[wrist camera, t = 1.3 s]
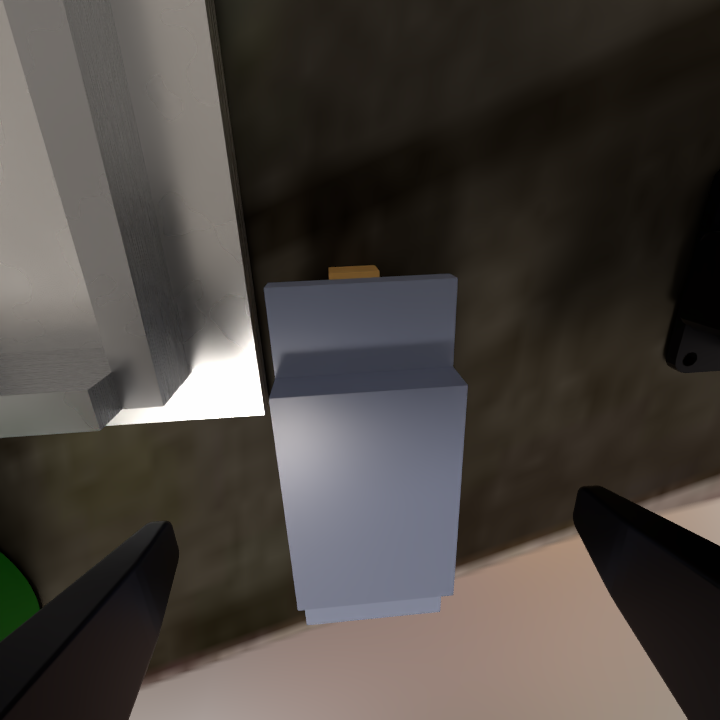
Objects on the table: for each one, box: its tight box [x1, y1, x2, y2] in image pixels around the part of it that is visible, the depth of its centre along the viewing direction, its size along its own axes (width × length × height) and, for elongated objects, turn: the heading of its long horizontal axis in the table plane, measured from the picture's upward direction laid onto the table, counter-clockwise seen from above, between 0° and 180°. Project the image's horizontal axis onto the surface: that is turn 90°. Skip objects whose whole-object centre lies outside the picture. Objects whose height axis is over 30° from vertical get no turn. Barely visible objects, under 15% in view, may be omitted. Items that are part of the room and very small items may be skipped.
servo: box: [264, 265, 468, 625], centre depth 11 cm, size 4×10×5 cm, turn 2°
